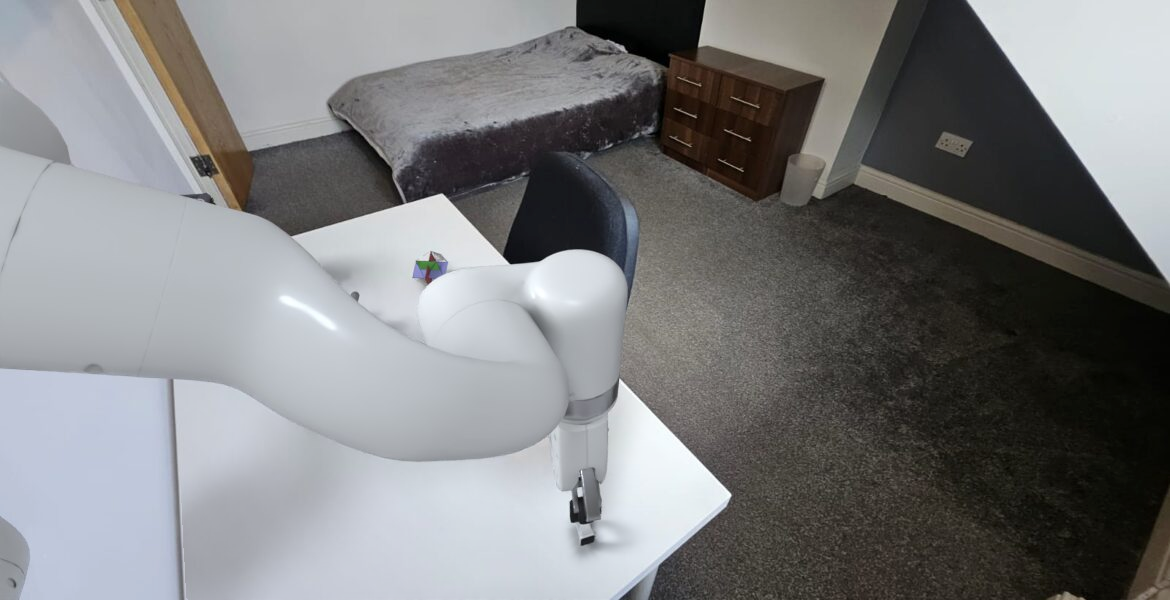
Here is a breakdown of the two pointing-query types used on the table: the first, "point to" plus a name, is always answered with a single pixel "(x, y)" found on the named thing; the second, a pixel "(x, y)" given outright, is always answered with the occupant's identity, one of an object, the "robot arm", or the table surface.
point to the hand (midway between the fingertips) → (576, 475)
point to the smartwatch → (585, 534)
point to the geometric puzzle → (430, 268)
